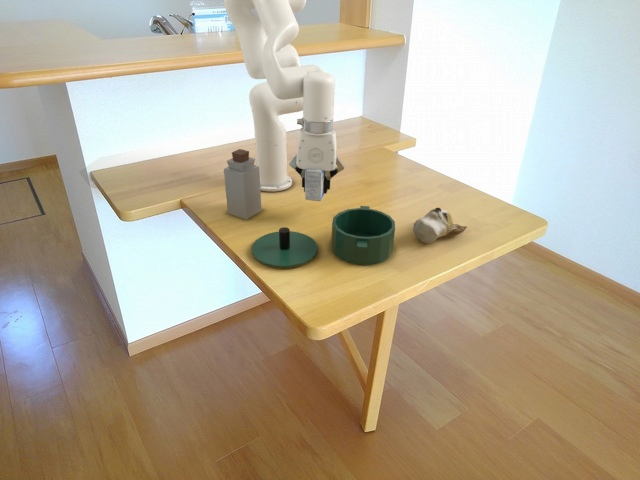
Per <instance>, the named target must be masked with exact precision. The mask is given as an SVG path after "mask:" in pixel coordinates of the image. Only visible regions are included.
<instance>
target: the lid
mask: <svg viewBox="0 0 640 480" xmlns="http://www.w3.org/2000/svg"><path fill="white" fill-rule="evenodd" d="M317 254H318V244H317V242H316V240H315V239H314V238H312V236H311V237H310V235H307V234H305V233H302V232H300V231H292V230H290V228H289V227H286V226H284V227H283V226H282V227H280V228H279V229H278V231H274V232H268V233H266V234H264V235H262V236H260V237H258V238H257V239H256V240H255V241H254V242H253V244H252V246H251V255H252V256H253V257H254V259H255V260H256V261H257V262H259V263H261V264H263V265H265V266H269V267H272V268H278V269H287V268H295V267H300V266H302V265H305V264H307V263H309V262H310V261H312V260H313V259H314V258H315V257H316V255H317Z"/></svg>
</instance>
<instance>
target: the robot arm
mask: <svg viewBox="0 0 640 480" xmlns="http://www.w3.org/2000/svg"><path fill="white" fill-rule="evenodd" d="M306 4H307V0H223V5H224V8H225V12H226V15H227V16H228V19H229V20H230V22H231V25H232V26H233V28H234V30H235V33H236V35H237V38H238V39H237V40H238V42H239V47H240V50H241V54H242V58H243V61H244V65H245V69H246V71H247V75H249V77H250V78H251V79H254V80H266V81H264V82H261V83H257V84H255V85H254V86H253V87H251V88H250V91H249V95H248V96H249V97H248V99H249V104H250V108H251V114H252V119H253V128H254V129H253V130H254V145H255V165H256V166H259V173H260V191H262V192H270V193H271V192H272V193H273V192H275V193H276V192H281V191H284V190H288V189H289V188H290V187H292V185H293V178H291V176H289V175H288V165H289V167H290V168H292V169H294V170H295V172H297V174H299V176H300V178H301V188H303V192H304V193H305V171H306V169H317V170H323V171H325V174H326V176H325V180H324V195H325V194H326V195H327V194H328V190H331V179H332V178H334V177H335V176H337V174H338V173H340V172H342V171H343V170H345V165H344V163H343V162H342V161H341V158H339V156H338V144H337V143H338V142H337V134H336V129H334V113H335V112H334V111H335V94H336V93H335V91H336V90H335V89H336V79H335V77H334V75H332V74H331V73H328V72H325V71H324V70H323V69H322V68H321V67H320V66H318V65H316V64H307V65H302V64H301V59H300V56H299V53H298V51H297V49H296V48H295V47H294V45H292V44H291V43H292V42H293V41H294V40H296V38H297V36H298V35H299V31H300V26H299V23H298V21H297V19H296V16H295V14H294V13H299V12H301V11H303V10H304V8H305V6H306ZM252 9H253V10H254V9H255V11H256V12H257V15H256V14H255V13H254V12H253V11H252ZM299 112H302V118H297V120H296V121H297V122H296V124H297V125H299V126H301V128H300V129H299V131H298V136H297V143H296V144H297V146H296V154H295V155H294V156H293V157H292V159H290V160H289V163H288V152H287V151H288V150H287V149H288V148H287V145H288V144H287V143H288V142H287V128H286V127H285V125H284V123H283V122H282V120H280V118H279V116H283V115H287V114H294V113H299Z"/></svg>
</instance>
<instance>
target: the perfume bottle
mask: <svg viewBox="0 0 640 480" xmlns="http://www.w3.org/2000/svg"><path fill="white" fill-rule="evenodd" d="M231 156H232V158H230V159H228V160H226V163H227V165H228V166H227V167H225V168H223V174H224V175H223V177H224V186H225V198H226V207H227V214H228V215H232V216H235V217H238V218H240V219H243V220H248V219H250V218H252V217H253V216H255V215H256V214H258V213H259V212H262V195H261V190H260V173H259V166H257V165H256V164H255V163H256V158H253V157H250V151H249V150H246V149H242V148H238V149H235V150H234V151H232V152H231Z"/></svg>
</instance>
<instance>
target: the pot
mask: <svg viewBox="0 0 640 480" xmlns="http://www.w3.org/2000/svg"><path fill="white" fill-rule="evenodd" d="M359 206H360V207H355V208H347V209H345V210H342V211H340V212H338V213H337V214H335V215H334V217H333V218H332V222H331V251H332V253H333V254H334V256H335V257H336V258H338V259H339V260H340V261H343V262H346V263H348V264H352V265H357V266H373V265H378V264H382V263H383V262H385V261H387V260H388V259H389V258H390V257H391V256H392V253H393V250H394V244H395V243H394V242H395V233H396V221H395V220H394V218H392V217H391V215H388V214H387V213H385V212H383V211H381V210H378V209H373V208H370V206H368V205H359Z"/></svg>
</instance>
